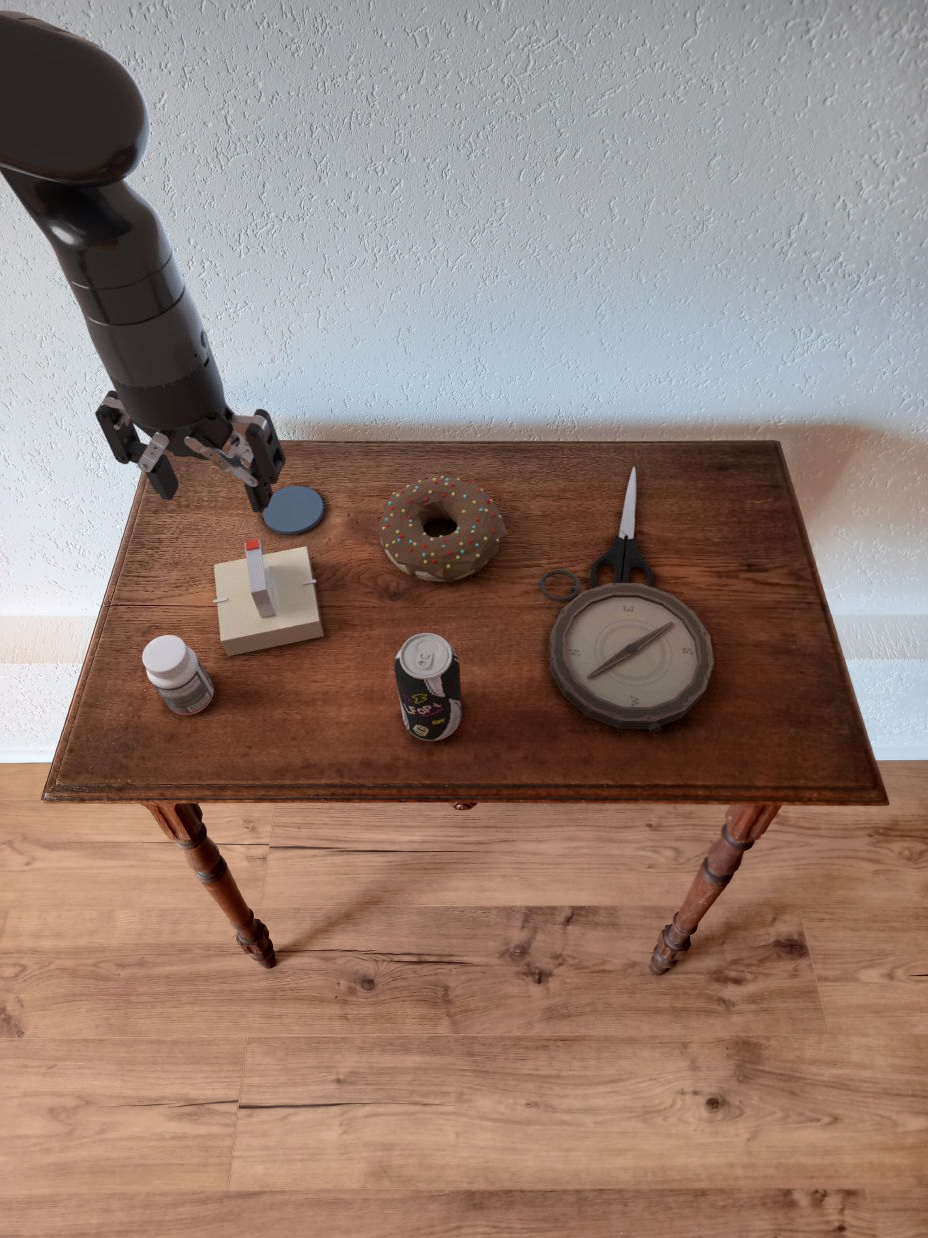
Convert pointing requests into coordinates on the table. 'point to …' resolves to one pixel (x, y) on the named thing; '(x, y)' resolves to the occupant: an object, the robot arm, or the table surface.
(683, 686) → the compass
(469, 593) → the table surface
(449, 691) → the beverage can
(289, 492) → the coaster
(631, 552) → the scissors
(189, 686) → the pill bottle
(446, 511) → the donut
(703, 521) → the table surface
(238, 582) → the base
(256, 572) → the tap handle
